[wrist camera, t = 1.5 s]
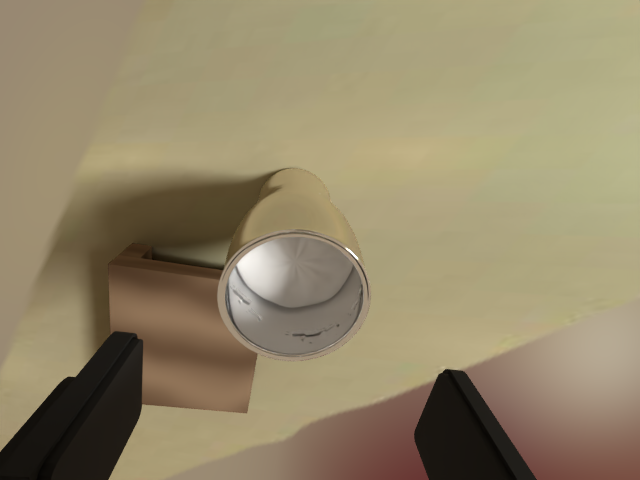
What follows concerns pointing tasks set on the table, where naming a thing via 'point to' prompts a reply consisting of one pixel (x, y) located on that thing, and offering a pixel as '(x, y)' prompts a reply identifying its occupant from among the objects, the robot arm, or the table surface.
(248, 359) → the walnut shelf
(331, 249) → the beer glass
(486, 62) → the table surface
